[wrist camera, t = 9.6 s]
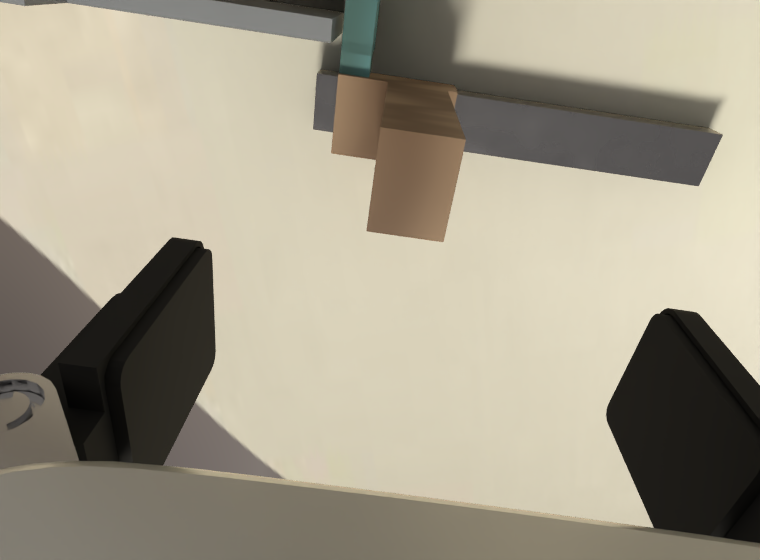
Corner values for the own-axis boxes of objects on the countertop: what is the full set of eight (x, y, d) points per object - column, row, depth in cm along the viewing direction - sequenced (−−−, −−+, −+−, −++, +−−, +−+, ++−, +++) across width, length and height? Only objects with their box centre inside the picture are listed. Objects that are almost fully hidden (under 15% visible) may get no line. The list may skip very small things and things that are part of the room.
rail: (709, 127, 30) (723, 134, 28) (686, 177, 31) (698, 186, 30) (321, 69, 29) (317, 73, 28) (317, 122, 31) (313, 129, 29)
